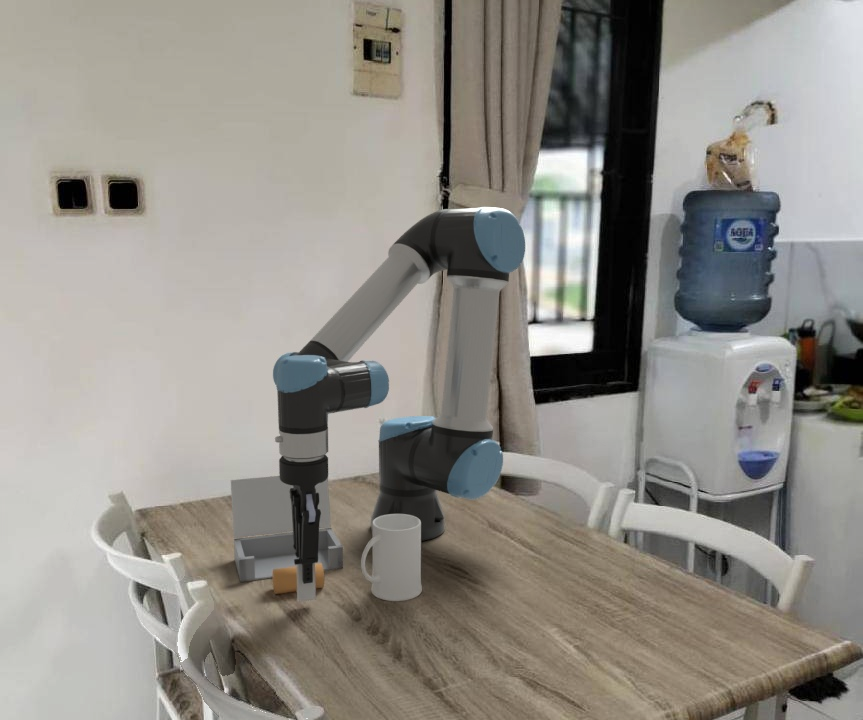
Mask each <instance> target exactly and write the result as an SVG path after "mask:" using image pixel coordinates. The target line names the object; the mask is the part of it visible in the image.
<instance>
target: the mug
mask: <svg viewBox="0 0 863 720" xmlns="http://www.w3.org/2000/svg"><path fill="white" fill-rule="evenodd" d="M372 531H373V532H372ZM372 531H371V532H372V538H370V540H369V541H368V542H367V544H366V546H365V547H364V549H363V552H362V554H361V559H360V569H361V573H362V575H363V576H364V578H365V579H366V580H367V581H369V582H371V583H372V584H371V588H370V592H371V594H372V595H373V596H374V597H376V598H377V599H380V600H384V601H386V602H387V601H388V602H403V601H409V600H413V599H416V598H417V597H418V596H420V594H421V593H422V590H423V586H422V579H421V578H422V576H421V575H422V574H421V572H422V569H421V568H422V565H421V564H422V563H421V562H422V541H421V521H420V519H419V518H417V517H415V516H412V515H407V514H388V515H383V516H380V517H377V518H375V519H374V520H373V524H372ZM371 548H372V576H371V575H370V574H369V573H368V572H367V569H366V559H367V555H368V553H369V551H370V549H371Z"/></svg>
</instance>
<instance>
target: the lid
mask: <svg viewBox="0 0 863 720" xmlns="http://www.w3.org/2000/svg"><path fill="white" fill-rule="evenodd" d="M290 488H294V487H293V486H292V485H288V484H285V483H283V482H282V481H281V480H280V475H270V476H260V477H251V478H249V477H248V478H240V479H239V478H237V479H231V480H230V493H231V513H232V514H231V515H232V531H233V534H232V535H233V538H234V539H239V538H247V537H256V536H265V535H273V534H282V533H291V532H293V523H292V506H291V499H290V492H289V491H290ZM315 489H316V493H319V504H318V509H320V511H321V515H320V522H319V529H325V528H332V521H331V508H330V492H329V490H330V489H329V477H328V478H327V479H326V480H325V481H324V482H322V483H318V484H317V485H316V486H315Z"/></svg>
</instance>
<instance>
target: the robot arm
mask: <svg viewBox="0 0 863 720" xmlns="http://www.w3.org/2000/svg"><path fill="white" fill-rule="evenodd" d="M524 233H525V232H524V230H523V228H522V225H521V224H520V222H519V219H518V218H517V217H516V215H514V214H513V213H512V212H511V211H509V210H508V209H507V208H506V209H505V208H502V207H501V208H500V207H491V206H481V207H471V208H470V207H469V208H468V207H467V208H454V209H453V208H444V209H440V210H437V211H434V212H431V213H430V214H428V215H426V216H424V217H423V218H422V219H420V220H418V221H417V222H416V223H414V224H413V225H412V226H411V227H409V228H408V229H407V230H406V231H405V232H403V234H402V235H401V236H400V237H399V238H398V239H397V240H396V241H395V242H394V243H393V244H392V245H391V246H390V247H389V248H388V251H387V254H388V256H387V258H386V259H385V260H384V261H383V262H382V264H380V265H379V266H378V268H377V269H376V270H374V271H373V273H372V274H371V275H370V276H369V277H368V278H367V279H366V280H365V281H364V282H363V283H362V285H361V286H360V287H359V288H358V289H357V290H356V291H355V292H354V293H353V294H352V295H351V296H350V297H349V299H347V301H346V302H345V303H343V305H341V307H340V308H339V309H338V310H337V311H336V313H334V314H333V315H332V317H331V318H330V319H329V320H328V321H327V322H326V323H325V324H324V325H323V326H322V327H321V328H320V330H319V331H318V332H317V333H315V335H314V336H313V337H312V338H311V339H310V340H309V341H308V343H306V344H305V346H303V347H302V348H301V349H300V351H299V352H297V351H293V352H287V353H284V354H282V355H280V357H278V358H277V360H276V362H275V363H274V366H273V370H272V379H273V382H274V384H275V385H276V386H275V387H276V390H277V415H278V416H277V417H278V419H277V421H278V434H279V435H277V436H275V438H274V442H275V443H277V444H278V451H279V454H280V456H281V457H280V458H279V460H278V466H279V468H278V469H279V470H278V471H279V473H278V474H279V476H280V480H281V481H282V482H283V483H285V484H288V485H292V486H293V487H294V488H290V491H289V492H290V499H291V506H292V523H293V531H292V532H293V540H294V545H293V547H294V549H295V550H296V552H295V555H296V557H297V558H299V559H294V563H295V565H296V567H297V591H296V598H297V601H298V603H301V602H308V601H315V600H316V599H317V597H316V596H317V595H316V593H317V591H316V589H317V588H315V563H317V562H318V543H319V529H320V528H319V522H320V515H321V511H320V509H318V504H319V493H316V489H315V486H316V485H317V484H318V483H322V482H324V481H325V480H326V479H327V478H328V479H329V457H328V456H327V454H328V453H329V427H328V426H329V425H328V423H329V415H330V414H335V413H340V412H341V413H342V412H345V411H353V410H358V409H362V408H363V409H367V408H369V407H373V406H376V405H379V404H381V403H383V402H384V401H385V399H387V396H388V394H389V391H390V378H389V375H388V372H387V370H386V368H385V367H384V366H383V364H382V363H380V362H378V361H376V360H360V361H355V362H352V361H351V362H350V360H351V359H352V357H353V356H354V355H355V354H356V353H357V352H358V351H359V350H360V348H361V347H362V346H363V345H365V343H366V342H367V341H368V340H369V339H370V337H371V336H372V335H373V334H374V333H375V332H376V331H377V330H378V328H379V327H380V326H381V325H382V324H383V323H384V322H385V321H386V319H387V318H388V317H389V316H390V315H391V314H392V313H393V311H395V310H396V308H397V307H398V306H399V305H400V304H401V302H403V301H404V299H405V298H406V297H407V296H408V295H410V293H411V292H412V291H413V289H414V288H415V287H416V286H417V285H418V284H419V285H422V284H425V283H427V282H428V281H429V279H430V278H431V277H432V276H433V275H434V274H437V273H439V272H442V271H446V279H447V280H448V282H450V283H449V284H451V285H452V287H453V292H452V300H451V301H452V302H451V303H452V304H451V311H450V312H451V314H450V323H449V332H448V343H447V351H446V353H447V354H446V363H445V371H444V381H443V384H444V385H443V391H442V401H441V402H442V403H441V412H440V414H439V415H438V416H437V417H435V416H432V415H414V416H404V417H403V416H402V417H396V418H391V419H388V420H385V421H384V422H383V423H382V424H381V425H380V427H379V438H378V440H377V441H378V466H379V467H378V470H379V473H378V474H379V475H378V477H379V480H378V481H379V490H378V492H379V493H378V496H377V499H376V502H375V504H374V508H373V511H372V514H371V517H370V518H371V519H370V530H371V532H372V533H373V531H372V524H373V520H374V519H375V518H377V517H380V516H383V515H388V514H407V515H412V516H415V517H417V518H419V519H420V521H421V542H422V541H427V540H428V541H429V540H431V539H432V540H433V539H434V538H437V537H439V536H441V535H442V534H443V533H444V532H445V530H446V526H445V525H446V519H445V515H444V511H443V508H442V505H441V501H440V498H439V496H438V491H439V492H442V493H444V494H447V495H450V496H452V497H454V498H457V499H458V498H461V499H466V500H477V499H480V498H482V497H484V496H485V495H487V494H488V493H489V492H490V491H491V489H492V488H493V487H494V486H495V485H496V484H497V482H498V480H499V478H500V476H501V472H502V469H503V466H504V453H503V451H502V448H501V446H500V444H499V443H497V442H496V441H495V440H494V439H493V435H494V427H493V425H492V424H491V422H489V420H488V419H487V417H488V416H487V414H488V405H489V397H490V396H489V395H490V388H491V387H490V386H491V377H492V365H493V357H494V349H495V348H494V345H495V338H496V328H497V327H496V326H497V317H498V309H499V307H498V306H499V299H500V292H501V291H502V290H503V289H504V288H505V287H506V286H507V285H508V284H509V281H510V273H512V272H514V271H516V270H517V269H519V267H520V266H521V263H522V262H523V261H524V258H525V255H526V239H525V238H526V237H525V234H524Z"/></svg>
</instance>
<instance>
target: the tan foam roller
mask: <svg viewBox="0 0 863 720" xmlns="http://www.w3.org/2000/svg"><path fill="white" fill-rule="evenodd" d="M272 576H273V578H272V586H273V587H272V588H273V592H274V594H275V595H280V594H284V593H292V592H293V593H294V592H297V567H296V566H295V567H287V568H280V569H273V574H272ZM324 586H325V574H324V571H323V566H322V564H321V563H318V564H315V588H316V589H320V588H324Z"/></svg>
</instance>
